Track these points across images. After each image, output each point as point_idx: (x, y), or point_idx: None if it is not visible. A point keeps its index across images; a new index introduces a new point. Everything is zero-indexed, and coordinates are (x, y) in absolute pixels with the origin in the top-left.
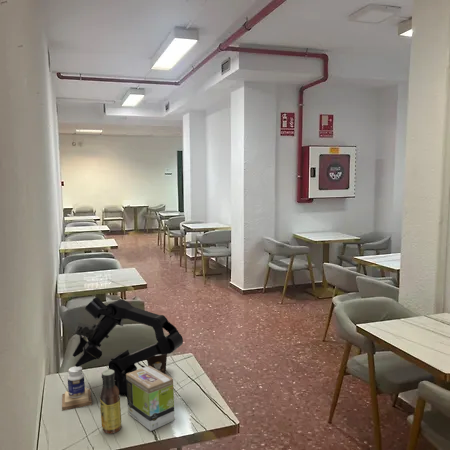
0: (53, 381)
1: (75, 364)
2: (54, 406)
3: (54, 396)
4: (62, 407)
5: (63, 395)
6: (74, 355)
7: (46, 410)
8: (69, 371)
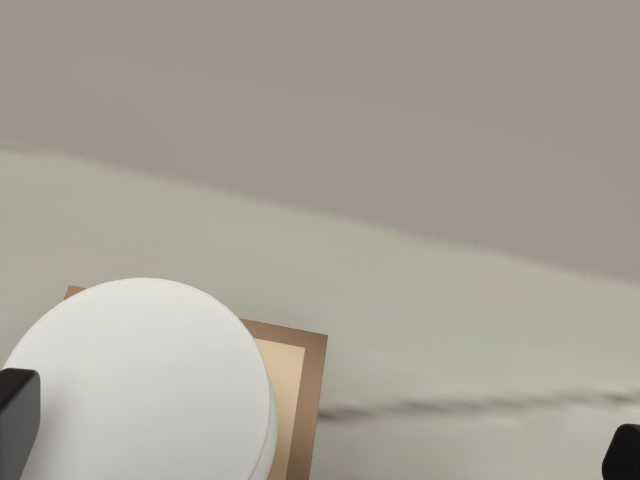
0: (634, 327)
1: (17, 375)
2: (195, 255)
3: (370, 287)
4: (68, 288)
5: (294, 338)
6: (623, 466)
7: (169, 194)
8: (103, 283)
